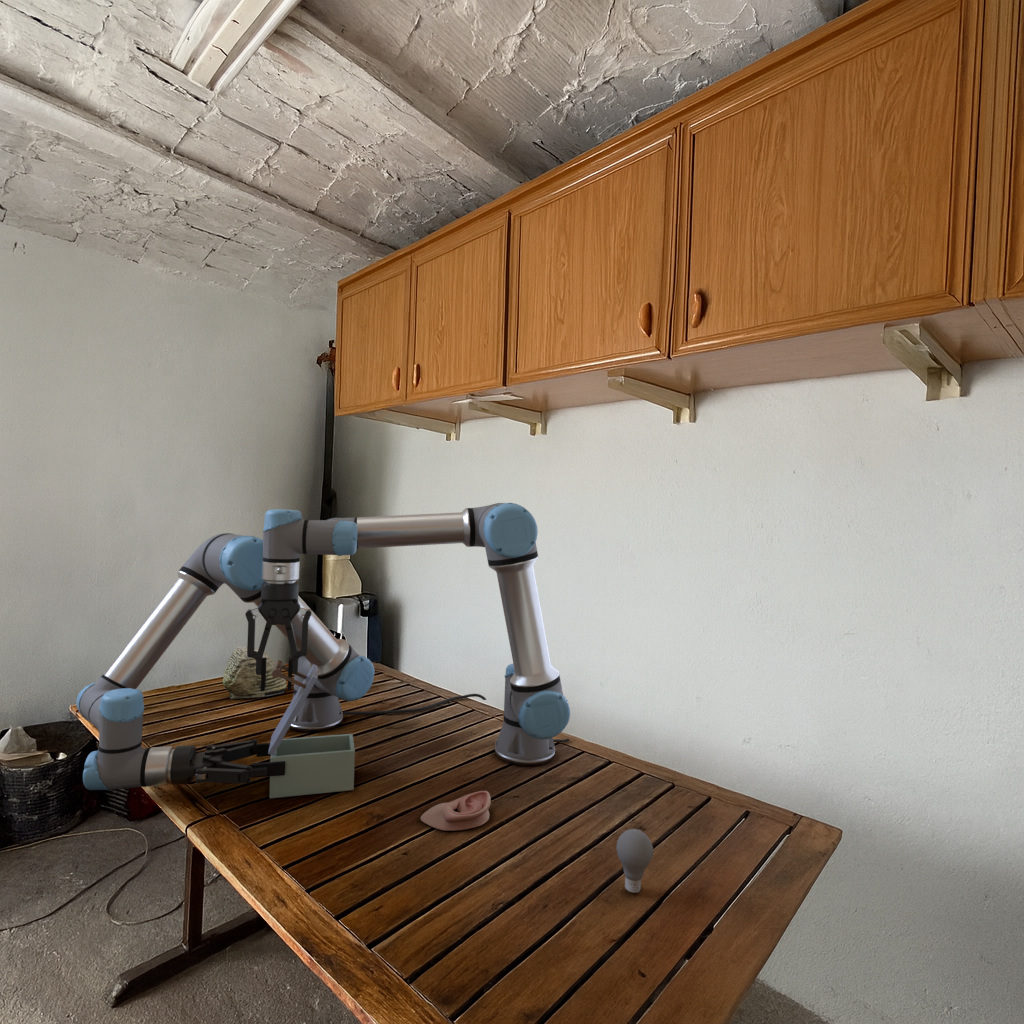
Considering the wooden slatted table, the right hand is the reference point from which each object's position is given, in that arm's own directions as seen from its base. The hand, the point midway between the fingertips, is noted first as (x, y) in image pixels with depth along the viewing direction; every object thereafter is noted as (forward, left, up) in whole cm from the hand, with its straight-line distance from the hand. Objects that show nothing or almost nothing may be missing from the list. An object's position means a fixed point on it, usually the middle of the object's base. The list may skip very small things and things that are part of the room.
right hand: (276, 688), depth 137 cm
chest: (-8, +1, -21) cm, 23 cm away
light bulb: (-52, +58, -22) cm, 81 cm away
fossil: (+1, -68, -22) cm, 71 cm away
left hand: (-3, 0, -15) cm, 15 cm away
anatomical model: (-33, +26, -22) cm, 47 cm away
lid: (-4, +1, -5) cm, 6 cm away
